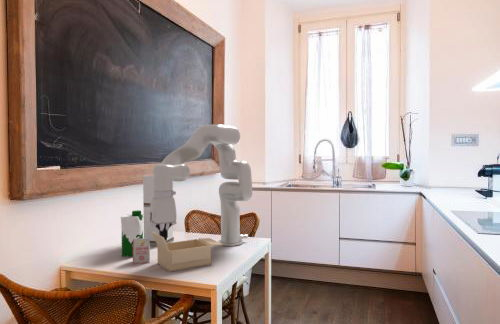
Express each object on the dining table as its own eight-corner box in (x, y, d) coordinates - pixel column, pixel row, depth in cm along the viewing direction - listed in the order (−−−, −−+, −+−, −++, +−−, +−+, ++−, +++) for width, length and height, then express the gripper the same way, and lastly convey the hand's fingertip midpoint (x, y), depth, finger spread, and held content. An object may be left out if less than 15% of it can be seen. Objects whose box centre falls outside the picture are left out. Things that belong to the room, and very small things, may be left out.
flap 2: (198, 239, 171) (209, 239, 174) (211, 245, 160) (222, 245, 163) (198, 238, 171) (209, 238, 174) (211, 244, 160) (223, 243, 163)
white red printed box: (133, 261, 165) (133, 238, 165) (150, 260, 167) (149, 237, 167) (132, 263, 162) (132, 239, 162) (149, 262, 163) (149, 239, 163)
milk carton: (138, 257, 171) (137, 212, 171) (118, 256, 172) (118, 212, 172) (145, 252, 180) (145, 209, 180) (127, 251, 181) (126, 209, 181)
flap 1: (158, 243, 161) (153, 231, 160) (169, 249, 150) (163, 237, 149) (156, 243, 161) (151, 232, 160) (167, 250, 150) (162, 238, 149)
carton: (196, 256, 172) (196, 238, 172) (211, 264, 159) (211, 245, 159) (157, 262, 162) (156, 244, 162) (170, 272, 150) (169, 251, 149)
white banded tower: (173, 240, 203) (173, 174, 202) (164, 245, 193) (163, 175, 192) (154, 239, 206) (153, 174, 205) (143, 244, 196) (143, 175, 195)
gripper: (177, 193, 163) (177, 236, 163) (141, 195, 155) (142, 240, 155) (184, 194, 156) (184, 239, 157) (147, 197, 148) (148, 244, 149)
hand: (163, 239), depth 156 cm, fingers closed
